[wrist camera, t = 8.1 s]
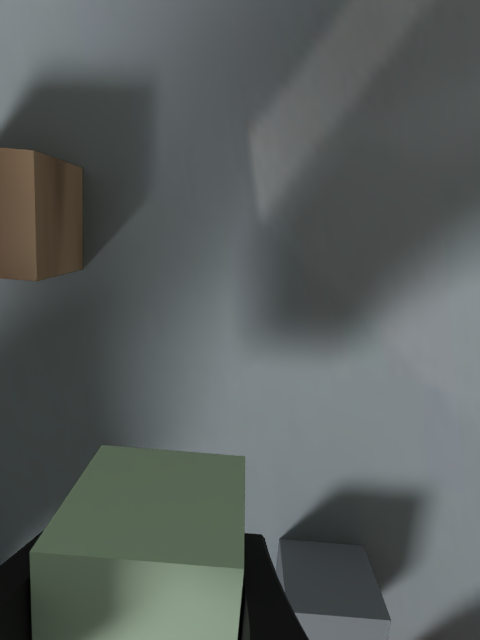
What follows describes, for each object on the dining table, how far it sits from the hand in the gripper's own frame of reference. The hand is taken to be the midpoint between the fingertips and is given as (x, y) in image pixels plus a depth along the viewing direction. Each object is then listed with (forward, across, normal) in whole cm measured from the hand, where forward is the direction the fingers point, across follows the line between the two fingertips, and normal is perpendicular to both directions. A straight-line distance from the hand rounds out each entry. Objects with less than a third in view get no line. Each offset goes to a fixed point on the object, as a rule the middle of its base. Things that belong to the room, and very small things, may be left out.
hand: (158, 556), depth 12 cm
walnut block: (+10, +8, -9) cm, 15 cm away
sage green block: (+2, 0, 0) cm, 2 cm away
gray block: (+10, -7, +9) cm, 15 cm away
